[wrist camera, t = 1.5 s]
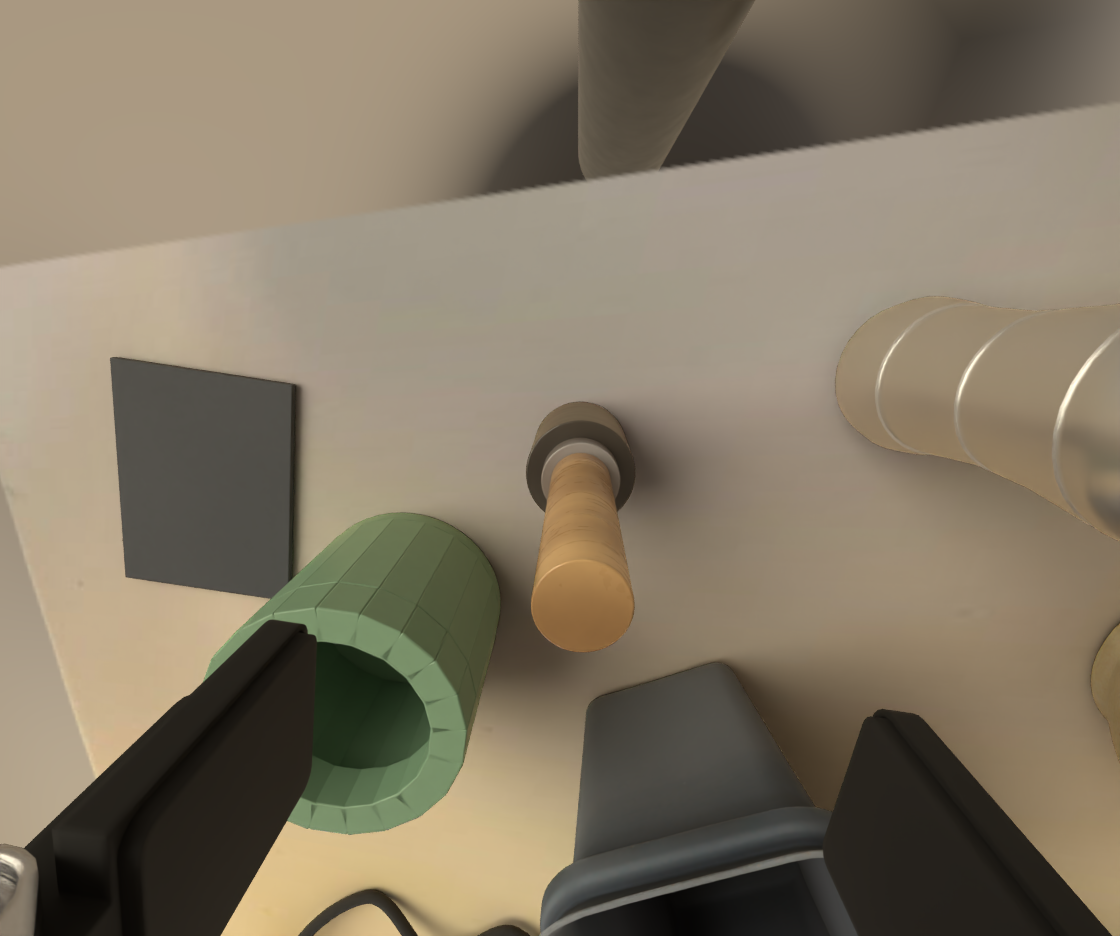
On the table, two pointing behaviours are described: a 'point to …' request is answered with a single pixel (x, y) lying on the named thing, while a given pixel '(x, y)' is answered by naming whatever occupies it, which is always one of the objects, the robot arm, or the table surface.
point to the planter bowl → (1108, 684)
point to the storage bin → (691, 822)
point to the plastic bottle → (996, 394)
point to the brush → (581, 527)
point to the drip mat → (205, 477)
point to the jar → (388, 666)
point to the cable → (496, 935)
